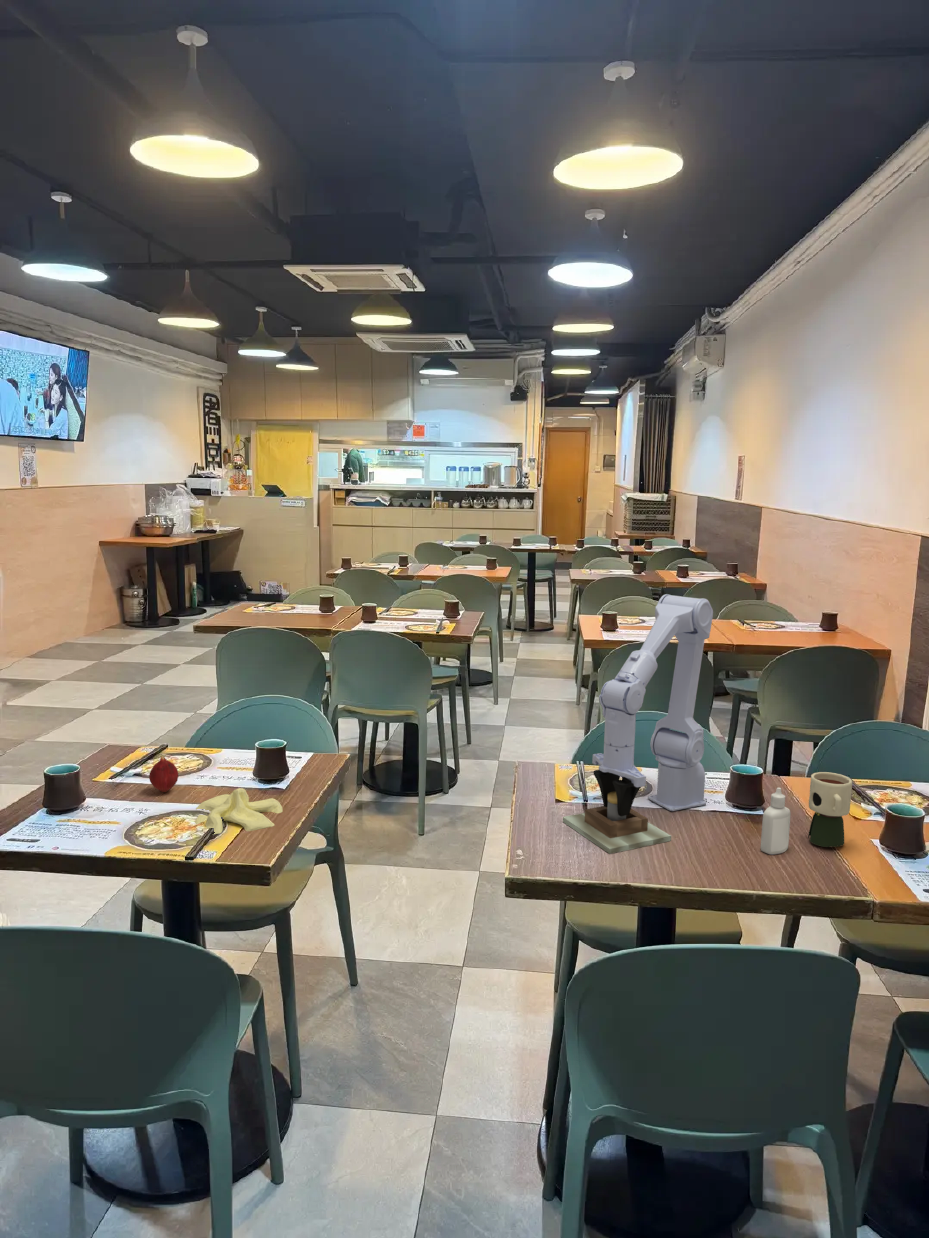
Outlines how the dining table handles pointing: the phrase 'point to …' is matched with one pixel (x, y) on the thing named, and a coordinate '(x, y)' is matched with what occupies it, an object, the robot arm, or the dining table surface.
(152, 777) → the onion
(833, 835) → the character mug
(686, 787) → the robot arm
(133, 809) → the dining table surface
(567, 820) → the holder
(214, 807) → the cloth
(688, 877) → the dining table surface
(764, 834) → the eye dropper bottle
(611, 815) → the yellow capped shaker
